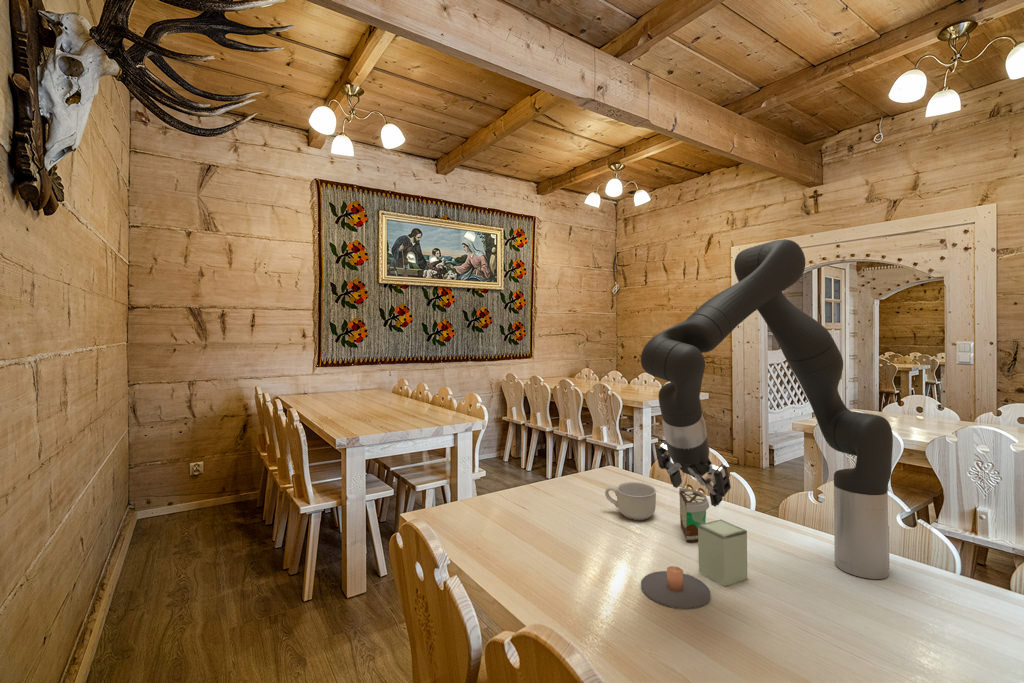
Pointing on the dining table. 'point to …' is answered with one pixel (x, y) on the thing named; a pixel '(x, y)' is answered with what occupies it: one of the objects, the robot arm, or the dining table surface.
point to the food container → (692, 512)
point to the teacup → (634, 499)
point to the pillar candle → (674, 578)
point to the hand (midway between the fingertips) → (696, 493)
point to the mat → (688, 598)
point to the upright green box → (722, 552)
